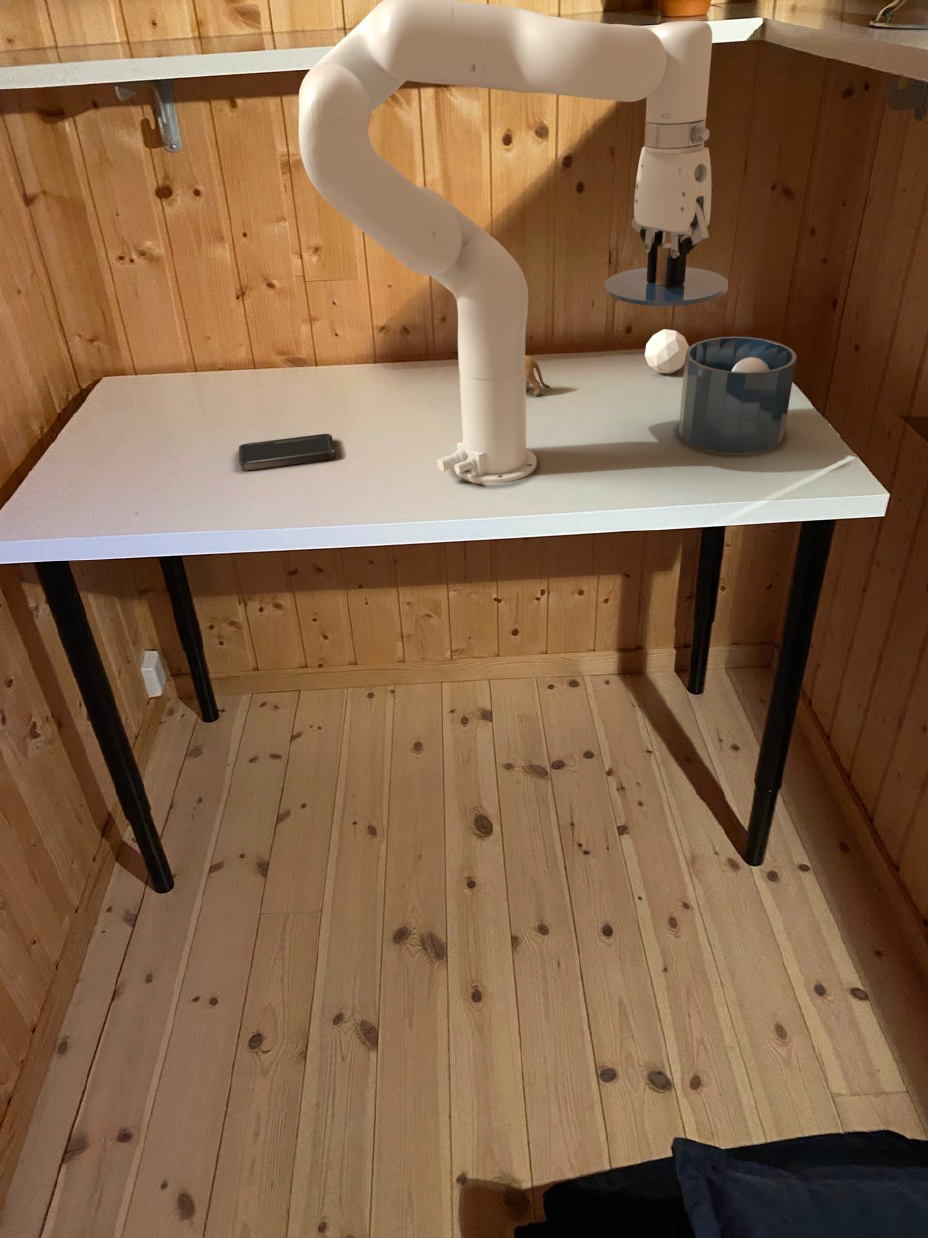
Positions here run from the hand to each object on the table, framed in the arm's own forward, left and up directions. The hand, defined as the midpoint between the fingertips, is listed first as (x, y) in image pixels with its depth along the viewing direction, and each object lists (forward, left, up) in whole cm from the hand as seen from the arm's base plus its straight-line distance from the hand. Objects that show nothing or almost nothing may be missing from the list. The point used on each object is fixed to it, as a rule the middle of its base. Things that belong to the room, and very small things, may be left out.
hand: (665, 281), depth 128 cm
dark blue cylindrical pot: (+13, -4, -25) cm, 29 cm away
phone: (-44, +38, -25) cm, 63 cm away
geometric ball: (+26, +22, -26) cm, 42 cm away
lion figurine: (-2, +34, -26) cm, 42 cm away
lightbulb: (+13, -4, -24) cm, 28 cm away
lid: (0, 0, -1) cm, 1 cm away
